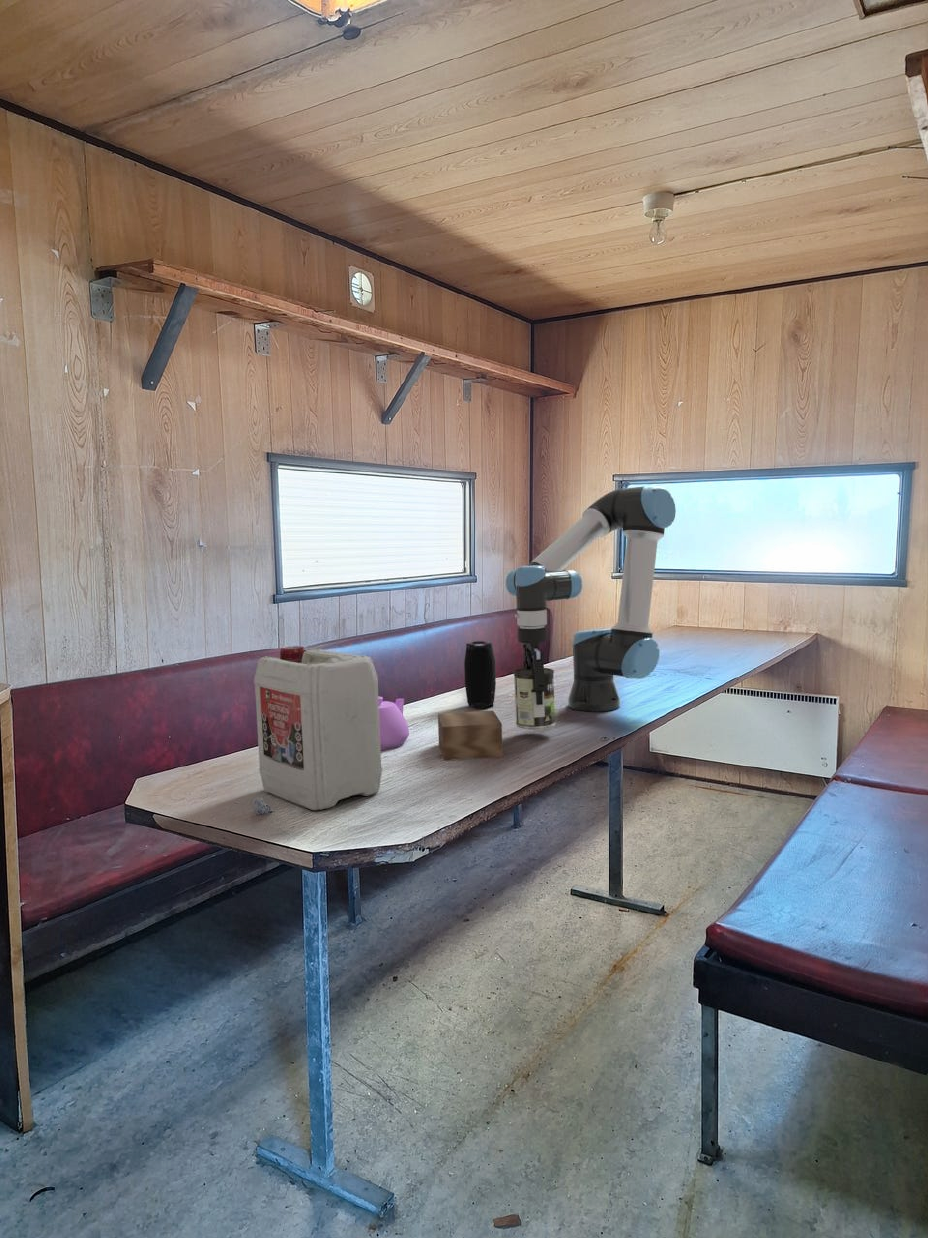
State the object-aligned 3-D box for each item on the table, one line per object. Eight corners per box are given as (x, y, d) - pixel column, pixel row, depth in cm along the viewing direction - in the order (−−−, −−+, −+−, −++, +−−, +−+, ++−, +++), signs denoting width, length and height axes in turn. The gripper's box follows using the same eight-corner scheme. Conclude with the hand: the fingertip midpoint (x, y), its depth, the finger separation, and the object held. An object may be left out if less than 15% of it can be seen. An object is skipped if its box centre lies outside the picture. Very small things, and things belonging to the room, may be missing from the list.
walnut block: (493, 741, 203) (493, 710, 202) (502, 756, 189) (501, 723, 189) (438, 744, 202) (437, 713, 201) (443, 760, 188) (442, 726, 187)
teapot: (377, 758, 192) (375, 708, 191) (327, 750, 200) (324, 703, 198) (427, 736, 211) (426, 691, 209) (380, 730, 219) (378, 687, 217)
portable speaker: (501, 706, 243) (499, 642, 240) (474, 711, 238) (472, 645, 236) (486, 701, 250) (484, 639, 248) (460, 705, 245) (458, 642, 243)
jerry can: (252, 791, 169) (243, 651, 166) (325, 771, 182) (319, 640, 179) (316, 818, 152) (308, 662, 149) (392, 793, 165) (387, 649, 162)
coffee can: (557, 719, 211) (555, 666, 210) (553, 729, 201) (551, 674, 200) (518, 719, 213) (516, 667, 212) (512, 729, 203) (510, 674, 202)
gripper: (510, 622, 215) (513, 703, 218) (525, 633, 193) (528, 723, 195) (537, 620, 216) (540, 701, 219) (556, 631, 193) (559, 721, 196)
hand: (534, 711), depth 207 cm, fingers closed on coffee can, 10 cm apart
